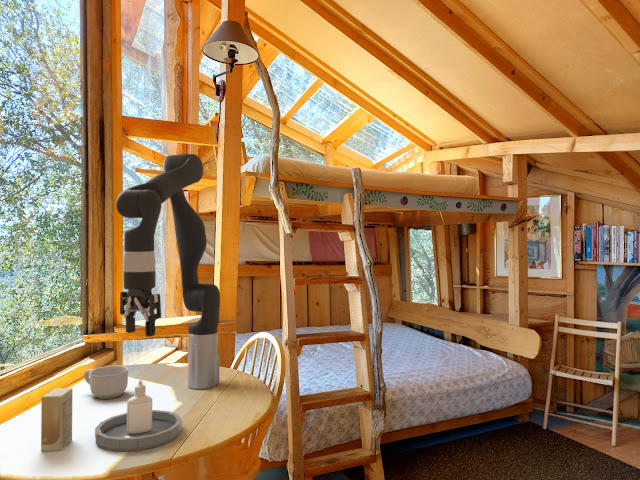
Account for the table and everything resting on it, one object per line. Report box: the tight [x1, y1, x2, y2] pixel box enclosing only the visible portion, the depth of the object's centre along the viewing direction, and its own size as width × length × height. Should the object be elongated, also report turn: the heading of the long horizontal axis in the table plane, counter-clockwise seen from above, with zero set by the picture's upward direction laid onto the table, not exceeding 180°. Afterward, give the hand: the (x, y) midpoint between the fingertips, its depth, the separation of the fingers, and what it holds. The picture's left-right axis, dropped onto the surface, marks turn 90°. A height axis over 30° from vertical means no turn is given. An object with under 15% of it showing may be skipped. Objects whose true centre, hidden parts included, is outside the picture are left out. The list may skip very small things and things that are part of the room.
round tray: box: [94, 409, 183, 453], centre depth 114 cm, size 19×19×3 cm
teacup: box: [83, 365, 129, 400], centre depth 145 cm, size 14×11×8 cm
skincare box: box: [40, 387, 73, 452], centre depth 108 cm, size 6×4×12 cm
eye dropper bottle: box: [126, 379, 153, 434], centre depth 114 cm, size 4×6×12 cm
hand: (140, 334), depth 119 cm, fingers open, 8 cm apart
